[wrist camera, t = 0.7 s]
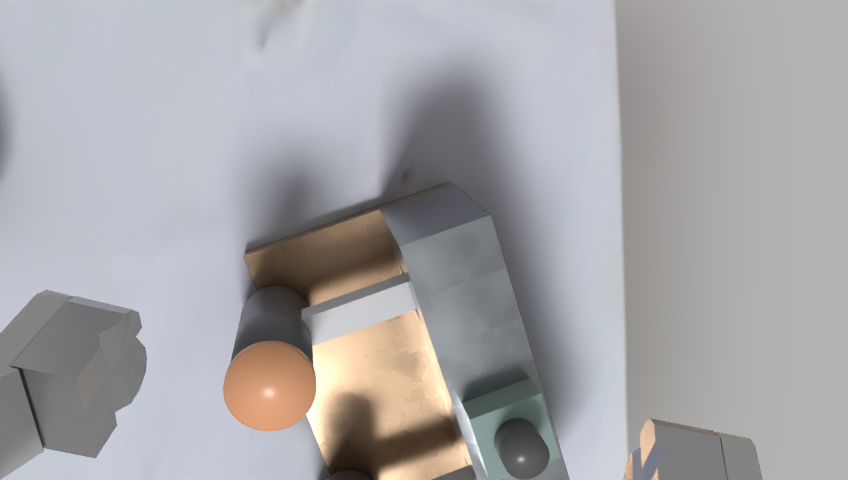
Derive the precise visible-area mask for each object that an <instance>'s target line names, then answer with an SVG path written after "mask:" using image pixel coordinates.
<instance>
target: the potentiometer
mask: <svg viewBox="0 0 848 480" xmlns="http://www.w3.org/2000/svg"><path fill="white" fill-rule="evenodd" d="M462 406H463V409H464V412H465V415H466V418H467V421H468V424H469V427H470V430H471V433H472V436H473V439H474V442H475V445H476V448H477V451H478V454H479V457H480V460H481V463H482V466H483V468H484V470H485V472H486V474H487V477H488V479H489V480H502V479H505V478H508V477H510V476H512V477H514V478H516V479H521V480H527V479H532V478H534V477H536V476H538V475H539V474H541V473H542V472H543V471H544V470H545V468H546V467H547V465H548V463H549V462H550V461H553V460H555V459H558V458H560V455H559V451H558V448H557V444H556V441H555V438H554V434H553V431H552V428H551V424H550V421H549V418H548V414H547V411H546V407H545V404H544V401H543V397H542V394H541V392H540V391H539V390H538V388H537V387H536V385H535V384H534V383H533V381H532V380H531V379H530V378H528V379H526V380H523V381H520V382H518V383H515V384H512V385H510V386H507V387H504V388H501V389H499V390H496V391H493V392H491V393H488V394H485V395H482V396H480V397H477V398H474V399H472V400H469V401H466V402H463V403H462Z"/></svg>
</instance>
